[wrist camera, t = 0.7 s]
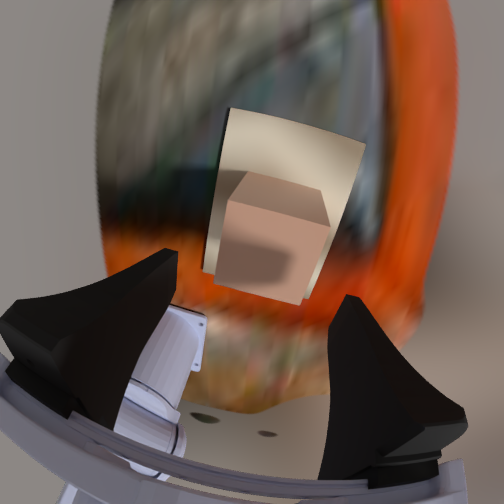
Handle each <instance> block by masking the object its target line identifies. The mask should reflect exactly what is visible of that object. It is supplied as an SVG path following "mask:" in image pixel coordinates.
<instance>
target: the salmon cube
mask: <svg viewBox="0 0 504 504" xmlns="http://www.w3.org/2000/svg"><path fill="white" fill-rule="evenodd" d="M330 228H331V226H330V222H329V218H328V215H327V211H326V207H325V204H324V200H323V197H322V193H321V190H318V189H314V188H311V187H307V186H304V185H300V184H297V183H293V182H289V181H286V180H282V179H278V178H274V177H270V176H266V175H262V174H258V173H254V172H250V171H248V172H247V174H246V175H245V176H244V178H243V179H242V181H241V182H240V183H239V185H238V186H237V188H236V189H235V190H234V192H233V193H232V195H231V196H230V198H229V199H228V202H227V207H226V213H225V218H224V224H223V229H222V235H221V240H220V246H219V252H218V258H217V264H216V270H215V276H214V282H213V283H214V284H218V285H222V286H225V287H229V288H233V289H237V290H240V291H244V292H248V293H252V294H256V295H260V296H263V297H267V298H271V299H275V300H279V301H283V302H288V303H292V304H296V305H300V304H301V301H302V299H303V297H304V294H305V292H306V289H307V287H308V285H309V282H310V280H311V277H312V275H313V272H314V270H315V267H316V265H317V262H318V260H319V257H320V255H321V252H322V249H323V247H324V244H325V242H326V239H327V236H328V234H329V231H330Z"/></svg>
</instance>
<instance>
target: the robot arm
mask: <svg viewBox="0 0 504 504" xmlns="http://www.w3.org/2000/svg"><path fill="white" fill-rule="evenodd" d="M177 263H178V251H174V250H171V249H167V248H164V249H162V250H160V251H158V252H156V253H154V254H153V255H151V256H149V257H147V258H145V259H144V260H142V261H140V262H138V263H136V264H134V265H133V266H131V267H129V268H127V269H125V270H123V271H120V272H118V273H116V274H114V275H112V276H110V277H108V278H106V279H103V280H101V281H98V282H96V283H93V284H90V285H88V286H85V287H81V288H78V289H75V290H72V291H68V292H64V293H60V294H56V295H50V296H45V297H38V298H30V299H20V300H16V301H15V302H14V303H13V305H12V306H11V307H10V308H9V309H8V310H7V311H6V312H5V313H4V314H3V315H2V316H1V317H0V334H1V336H2V338H3V340H4V341H5V343H6V345H7V347H8V348H9V350H10V352H11V353H12V355H13V356H14V359H13V361H12V362H11V363H10V361H8V359H7V358H6V357H5V356H4V355H3V354H1V353H0V430H1V431H2V432H3V433H4V434H5V435H6V436H7V437H9V438H10V439H11V440H12V441H13V442H14V443H15V444H16V445H17V446H19V447H20V448H21V449H22V450H23V451H25V452H26V453H27V454H28V455H30V456H31V457H32V458H33V459H35V460H36V461H37V462H38V463H40V464H41V465H43V466H44V467H45V468H47V469H48V470H50V471H51V472H52V473H54V474H55V475H57V476H58V477H60V478H61V479H63V480H64V481H66V482H65V484H64V487H63V489H62V491H61V493H60V496H59V498H58V500H57V502H56V504H270V503H262V502H254V501H249V500H243V499H237V498H230V497H226V496H221V495H216V494H211V493H207V492H203V491H198V490H194V489H190V488H186V487H183V486H179V485H175V484H172V483H168V482H165V481H166V480H167V478H168V477H170V476H173V477H176V478H179V479H183V480H186V481H189V482H193V483H197V484H201V485H205V486H209V487H213V488H218V489H223V490H228V491H233V492H239V493H245V494H251V495H259V496H267V497H277V498H290V499H312V500H301V501H300V502H299V503H296V504H468V496H467V487H466V479H465V472H464V465H463V459H462V458H460V459H456V460H452V461H448V462H445V463H442V464H439V465H438V461H437V459H439V458H441V456H442V454H441V449H443V448H444V447H446V446H447V445H449V444H450V443H452V442H453V441H454V440H456V439H458V438H459V437H460V436H461V435H462V434H463V433H464V432H465V431H466V430H467V428H468V423H467V419H466V415H465V411H464V408H463V407H461V406H460V405H458V404H456V403H455V402H453V401H452V400H450V399H449V398H447V397H446V396H445V395H443V394H442V393H441V392H439V391H438V390H437V389H436V388H435V387H433V386H432V385H431V384H430V383H429V382H427V381H426V380H425V379H424V378H423V377H422V376H421V375H420V374H419V373H418V372H417V371H416V370H415V369H414V368H413V367H412V366H411V365H410V364H409V363H408V361H407V360H406V359H405V358H404V357H403V356H402V355H401V353H400V352H399V351H398V350H397V349H396V347H395V346H394V345H393V343H392V342H391V341H390V340H389V338H388V337H387V335H386V334H385V333H384V331H383V330H382V329H381V327H380V326H379V324H378V323H377V321H376V320H375V319H374V317H373V316H372V314H371V313H370V311H369V310H368V309H367V307H366V306H365V304H364V303H363V302H362V300H361V299H360V298H359V297H356V296H352V295H347V294H346V296H345V298H344V300H343V302H342V303H341V305H340V307H339V309H338V311H337V313H336V315H335V317H334V319H333V321H332V322H331V324H330V326H329V329H328V347H327V349H328V364H329V378H330V412H329V422H328V430H327V438H326V443H325V449H324V455H323V459H322V463H321V468H320V472H319V476H318V480H305V479H290V478H280V477H271V476H263V475H257V474H250V473H244V472H239V471H234V470H229V469H223V468H219V467H215V466H211V465H206V464H203V463H199V462H195V461H192V460H188V459H185V458H183V455H184V452H185V448H186V434H185V431H184V427H183V426H182V424H180V423H178V420H179V417H180V414H181V413H180V412H178V411H176V408H177V406H178V404H179V401H180V398H181V395H182V393H183V390H184V387H185V385H186V382H187V379H188V376H189V374H190V371H191V370H193V371H200V369H201V362H202V354H203V347H204V340H205V333H206V326H207V318H206V317H205V316H204V315H201V314H198V313H194V312H191V311H188V310H184V309H181V308H178V307H175V306H171V305H169V304H170V302H171V300H172V298H173V295H174V293H175V291H176V281H177ZM202 323H203V324H202Z"/></svg>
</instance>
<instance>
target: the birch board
mask: <svg viewBox="0 0 504 504" xmlns="http://www.w3.org/2000/svg"><path fill="white" fill-rule="evenodd" d="M365 146H366V144H365V143H362V142H359V141H356V140H353V139H351V138H348V137H345V136H342V135H339V134H336V133H332V132H329V131H326V130H323V129H319V128H316V127H313V126H309V125H306V124H302V123H298V122H294V121H291V120H287V119H283V118H278V117H274V116H270V115H266V114H261V113H256V112H251V111H246V110H241V109H236V108H231V109H230V114H229V119H228V123H227V128H226V133H225V138H224V144H223V149H222V154H221V160H220V165H219V171H218V176H217V182H216V188H215V194H214V199H213V206H212V212H211V218H210V225H209V231H208V238H207V245H206V252H205V259H204V266H203V272H206V273H210V274H213V275H215V270H216V264H217V258H218V252H219V246H220V240H221V235H222V229H223V224H224V218H225V213H226V207H227V202H228V199H229V198H230V196H231V195H232V193H233V192H234V190H235V189H236V188H237V186H238V185H239V183H240V182H241V181H242V179H243V178H244V176H245V175H246V174H247V172H248V171H250V172H254V173H258V174H262V175H266V176H270V177H274V178H278V179H282V180H286V181H289V182H293V183H297V184H300V185H304V186H307V187H311V188H314V189H318V190H321V193H322V197H323V200H324V204H325V207H326V211H327V215H328V218H329V222H330V226H331V228H330V231H329V234H328V236H327V239H326V242H325V244H324V247H323V249H322V252H321V255H320V257H319V260H318V262H317V265H316V267H315V270H314V272H313V275H312V277H311V280H310V282H309V285H308V287H307V289H306V292H305V294H304V297H303V298H306V299H309V296H310V294H311V292H312V290H313V287H314V285H315V283H316V280H317V278H318V275H319V273H320V271H321V268H322V266H323V263H324V261H325V258H326V256H327V253H328V251H329V248H330V246H331V243H332V241H333V238H334V236H335V233H336V230H337V228H338V225H339V222H340V220H341V217H342V214H343V211H344V209H345V206H346V203H347V200H348V197H349V195H350V192H351V189H352V186H353V183H354V180H355V177H356V174H357V171H358V168H359V165H360V162H361V159H362V156H363V152H364V149H365Z"/></svg>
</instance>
